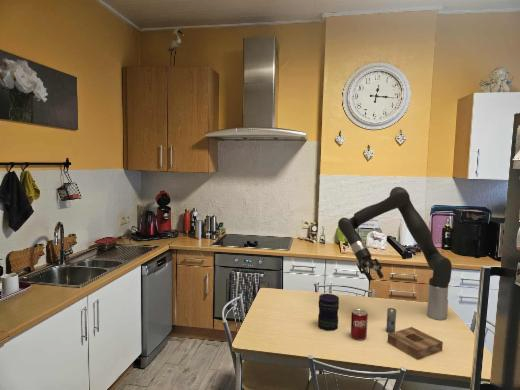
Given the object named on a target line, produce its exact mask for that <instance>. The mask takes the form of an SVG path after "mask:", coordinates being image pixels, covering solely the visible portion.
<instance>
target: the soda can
mask: <svg viewBox="0 0 520 390" xmlns="http://www.w3.org/2000/svg"><path fill="white" fill-rule="evenodd" d="M350 316H351V321H350V337H351V338H352V339H354V340H357V341H364V340H365V339H367V337H368V335H367V334H368V319H369V318H368V316H369V315H368V313H367V311H365V310H363V309H359V308H357V309H353V310H352V311H351V315H350Z"/></svg>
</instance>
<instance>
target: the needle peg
mask: <svg viewBox="0 0 520 390" xmlns="http://www.w3.org/2000/svg"><path fill="white" fill-rule="evenodd" d="M396 321H397V309H396V308H394V307H389V308H387V311H386V330H385V331H386V333H387V334H390V333H393V332H396Z"/></svg>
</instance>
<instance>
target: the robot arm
mask: <svg viewBox="0 0 520 390" xmlns="http://www.w3.org/2000/svg"><path fill="white" fill-rule="evenodd" d="M396 209H397V210H398V212H399V213H400V214H401V217H402V219H403V222H404V223H405V225H406V228H407V229H408V232H409V233H410V235H411V237H412V239H413V240H414V242H415V243H416V244H417V246H418V248H419V249H420V250H421V252H422V254H423V256H424V258H425V261H426V263H427V265H428V267H429V268H430V269H431V270H432V277H430V278H429V281H428V292H427V295H428V297H427V307H426V308H427V311H426V314H427V317H428V318H431V319H433V320H439V321H440V320H441V321H444V320H447V317H448V307H449V299H448V295H449V294H448V293H449V284H450V282H451V280H452V278H451V277H452V270H453V269H452V262H451V260H450V258H447V257H446V256H444V255H442V254H441V252H440V251H439V249H438V248H437V247H436V245H435V243H434V240H433V235H432V232H431V230H430V228H429V226H428V225H427V223H426V222H425V220H424V219H423V217H422V215H420V213H419V212H418V211H417V209H416V208H415V207H414V204H413V203H412V201H411V199H410V194H409V192H408V191H407V190H406V189H405V188H404V187H402V186H395V187H393V188H392V189H391V190H390V192H389V195H388V197H387V198H385V199H384V200H382V201H379V202H376V203H375V204H371V205H368V206H366V207H364V208H362V209H360V210H359V211H357V212H356V211H355V213H354V214H353V216H352V217H350V218H347V217H342V218H339V220H338V222H337V225H338V228H339V230H340V232H341V233H342V234H343V236H344V237H345V238H346V241H347V243H348V244H349V246H350V249H351V251H352V253H353V255H354V257H355V258H356V259H357V262H356V263H355V264H356V267H357V269H358V270H359V273H360V274H361V275H362V274H363V275H365V278H367V280H368V281H369V282H371V281H373V277H372V275H371V274H370V272H369V270H373V271H375V273H376V274H377V276H378V277H379V279H383V278H384V274H383V273H382V271H381V270H382V269H383V266H382V265H381V264H380V261H379V260H378V259H377V258H374V259H373V258H372V254H371V252H370V250H369V248H368V247H367V245H366V243H365V242H364V241H363V239H362V237H361V235H360V234H359V232H357V231H356V230H357V229H358V228H359V227H360V226H361V225H362V224H365V223H367V222H370V221H371V220H373V219H375V218H376V217H378V216H380V215H382V214H385V213H388V212H391V211H392V210H396Z"/></svg>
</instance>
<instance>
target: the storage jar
mask: <svg viewBox="0 0 520 390" xmlns="http://www.w3.org/2000/svg"><path fill="white" fill-rule="evenodd" d="M339 300H340V298H339V296H338V295H336V294H332V293H321V294H319V295H318V315H317V321H318V322H317V323H318V325H317V327H318V328H319V329H320V330H322V331H326V332H333V331H336V330H338V328H339V309H340V306H339V305H340V301H339Z"/></svg>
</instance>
